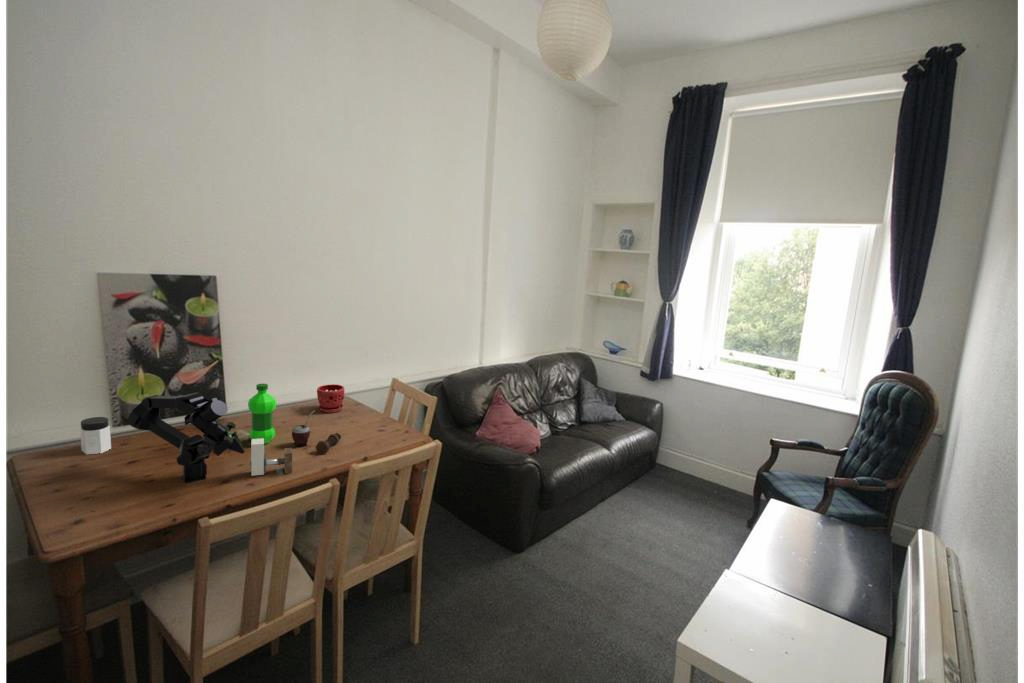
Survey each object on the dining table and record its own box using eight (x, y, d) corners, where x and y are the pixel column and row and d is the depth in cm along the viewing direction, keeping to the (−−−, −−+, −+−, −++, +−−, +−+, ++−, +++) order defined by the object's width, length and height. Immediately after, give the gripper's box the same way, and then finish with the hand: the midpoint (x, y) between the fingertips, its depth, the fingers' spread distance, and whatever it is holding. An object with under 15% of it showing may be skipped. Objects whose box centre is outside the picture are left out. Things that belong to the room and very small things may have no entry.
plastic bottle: (244, 445, 210) (243, 387, 206) (256, 436, 221) (255, 380, 216) (269, 447, 211) (268, 389, 206) (279, 438, 221) (279, 382, 216)
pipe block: (276, 474, 189) (276, 454, 187) (276, 468, 193) (276, 449, 192) (292, 473, 191) (292, 453, 190) (291, 467, 196) (291, 447, 194)
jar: (78, 455, 190) (76, 425, 188) (84, 447, 197) (82, 417, 195) (108, 453, 194) (106, 423, 192) (113, 445, 201) (112, 416, 199)
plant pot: (338, 404, 270) (338, 382, 268) (348, 411, 260) (348, 389, 258) (312, 407, 262) (313, 385, 259) (322, 415, 252) (322, 392, 250)
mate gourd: (288, 446, 214) (288, 412, 211) (300, 439, 221) (301, 406, 219) (302, 449, 212) (303, 415, 209) (315, 443, 219) (316, 409, 216)
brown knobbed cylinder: (339, 444, 225) (323, 457, 210) (330, 437, 225) (313, 449, 210) (346, 434, 224) (330, 446, 209) (336, 427, 224) (320, 439, 209)
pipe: (250, 469, 186) (250, 462, 185) (250, 465, 188) (250, 459, 188) (286, 465, 191) (286, 459, 190) (285, 462, 193) (285, 456, 193)
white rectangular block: (251, 475, 185) (251, 444, 183) (252, 469, 190) (251, 439, 188) (265, 474, 187) (265, 443, 185) (265, 468, 192) (265, 438, 189)
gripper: (192, 431, 184) (227, 458, 191) (184, 452, 168) (223, 480, 174) (217, 410, 186) (251, 436, 193) (212, 428, 170) (249, 456, 176)
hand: (243, 452), depth 184 cm, fingers closed
